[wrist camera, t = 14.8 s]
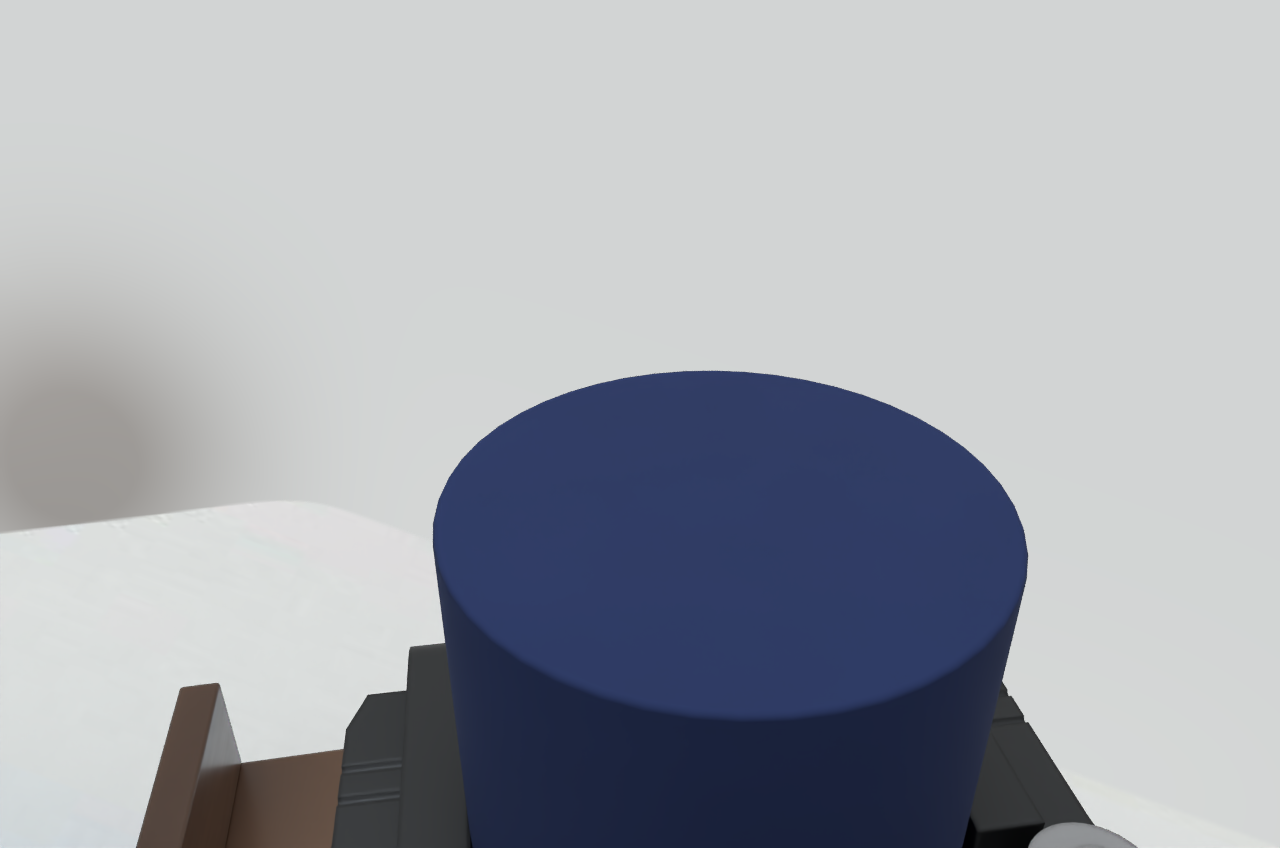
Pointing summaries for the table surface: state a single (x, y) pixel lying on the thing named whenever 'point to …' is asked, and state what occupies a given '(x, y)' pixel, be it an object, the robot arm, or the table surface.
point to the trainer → (724, 619)
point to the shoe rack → (235, 787)
